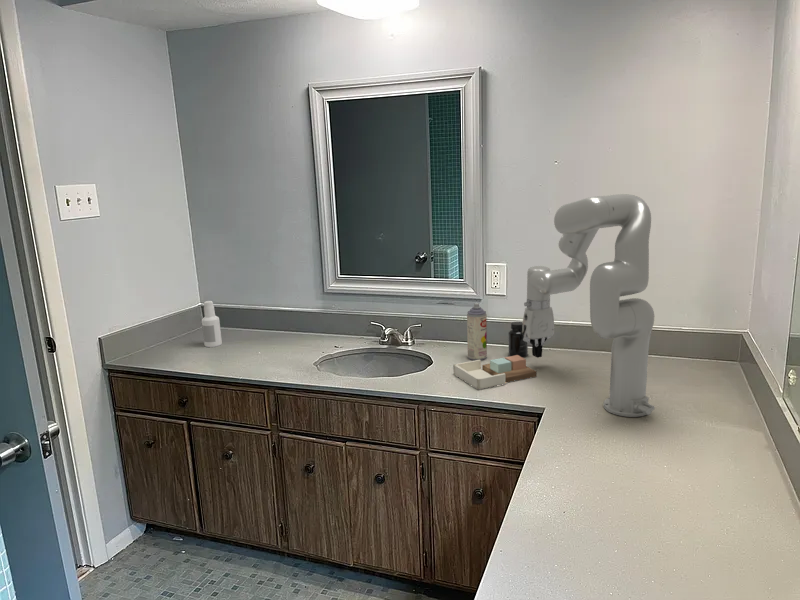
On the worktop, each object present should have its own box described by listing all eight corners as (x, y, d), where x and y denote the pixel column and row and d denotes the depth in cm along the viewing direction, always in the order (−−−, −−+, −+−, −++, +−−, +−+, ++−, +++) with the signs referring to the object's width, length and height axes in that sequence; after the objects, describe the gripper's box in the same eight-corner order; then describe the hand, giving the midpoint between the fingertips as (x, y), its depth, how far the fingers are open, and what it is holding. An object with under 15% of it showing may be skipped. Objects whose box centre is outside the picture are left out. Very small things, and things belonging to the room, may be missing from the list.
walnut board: (536, 376, 200) (536, 371, 199) (505, 383, 195) (505, 377, 195) (512, 364, 212) (512, 359, 212) (482, 370, 208) (482, 364, 207)
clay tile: (525, 367, 203) (526, 359, 202) (513, 370, 201) (513, 361, 200) (517, 363, 208) (517, 355, 207) (504, 365, 206) (504, 357, 205)
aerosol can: (483, 361, 216) (483, 306, 212) (465, 359, 219) (464, 305, 214) (489, 355, 222) (488, 302, 218) (470, 353, 225) (470, 300, 220)
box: (505, 384, 194) (505, 374, 193) (478, 390, 190) (477, 379, 190) (479, 369, 209) (479, 359, 208) (453, 374, 205) (453, 364, 204)
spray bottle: (204, 343, 251) (199, 300, 247) (221, 341, 253) (217, 299, 249) (204, 348, 245) (199, 304, 241) (222, 346, 247) (217, 302, 243)
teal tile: (511, 370, 201) (511, 362, 200) (498, 373, 199) (498, 364, 198) (503, 366, 205) (503, 357, 205) (490, 368, 204) (490, 360, 203)
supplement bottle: (526, 352, 224) (527, 320, 221) (528, 358, 218) (529, 325, 215) (507, 352, 225) (507, 320, 222) (509, 358, 218) (509, 326, 216)
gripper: (525, 309, 197) (524, 363, 202) (563, 303, 203) (562, 355, 207) (512, 304, 204) (512, 356, 208) (549, 298, 209) (548, 349, 214)
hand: (537, 356), depth 208 cm, fingers closed
